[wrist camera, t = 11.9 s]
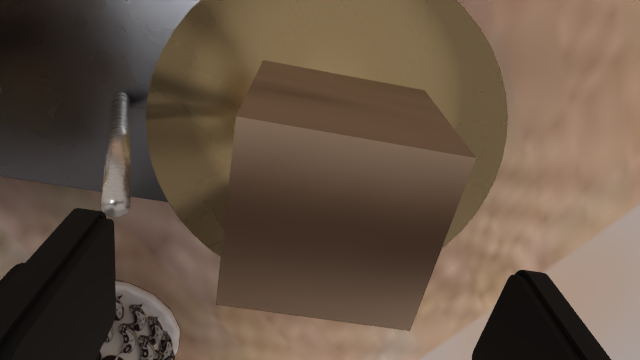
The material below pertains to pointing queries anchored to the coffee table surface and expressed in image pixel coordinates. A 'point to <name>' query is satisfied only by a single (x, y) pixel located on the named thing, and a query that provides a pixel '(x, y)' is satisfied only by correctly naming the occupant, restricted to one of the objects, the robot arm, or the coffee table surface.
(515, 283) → the robot arm
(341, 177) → the walnut block
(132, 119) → the balance
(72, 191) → the coffee table surface
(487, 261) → the coffee table surface
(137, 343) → the decorative candle
